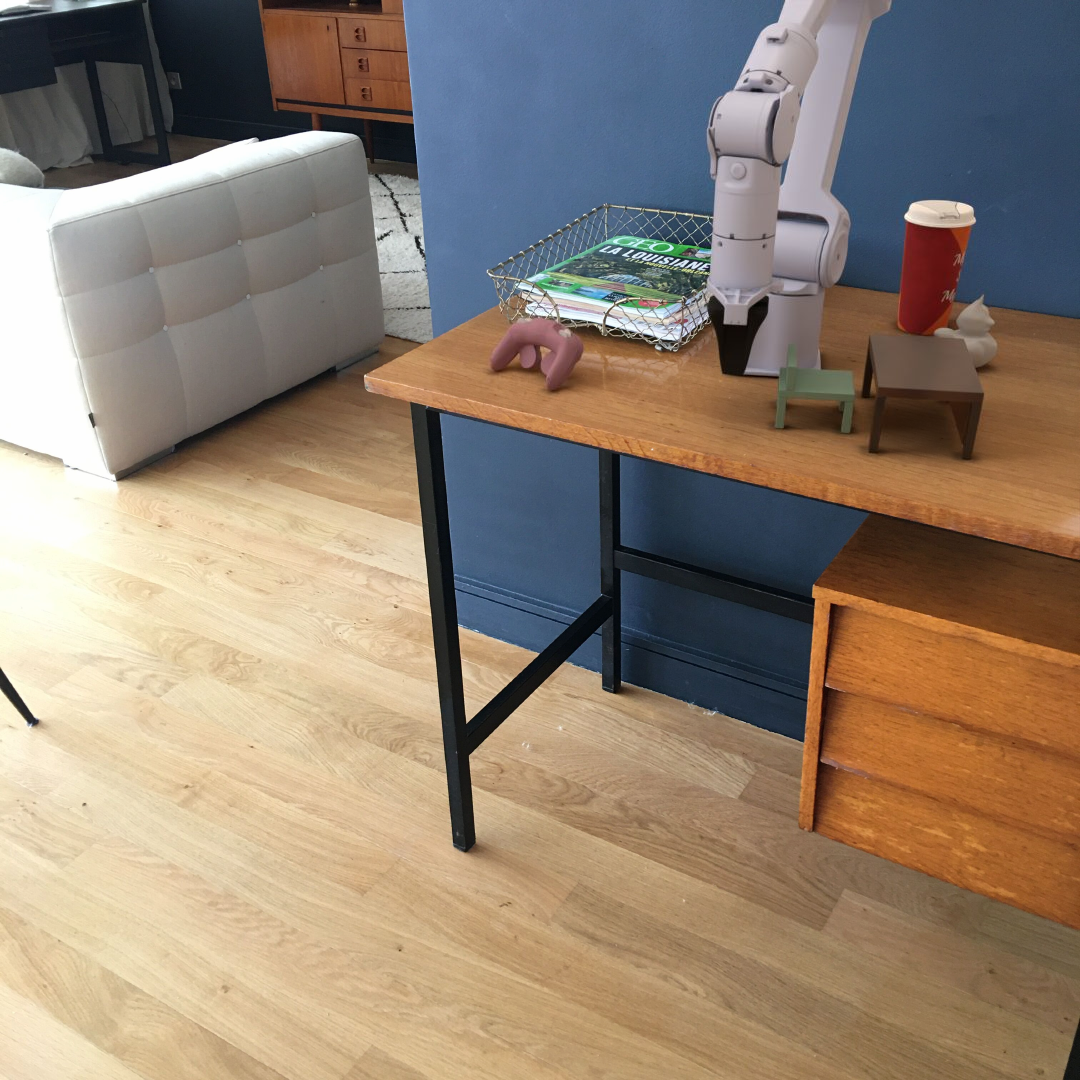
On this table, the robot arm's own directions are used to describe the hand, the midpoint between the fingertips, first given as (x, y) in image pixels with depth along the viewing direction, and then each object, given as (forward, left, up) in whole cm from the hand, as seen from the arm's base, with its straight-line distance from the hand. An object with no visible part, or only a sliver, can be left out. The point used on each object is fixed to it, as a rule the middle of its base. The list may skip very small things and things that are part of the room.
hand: (733, 372), depth 107 cm
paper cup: (+21, +29, -4) cm, 36 cm away
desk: (+18, 0, -4) cm, 18 cm away
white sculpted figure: (+24, +17, -4) cm, 30 cm away
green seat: (+8, 0, -4) cm, 9 cm away
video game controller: (-21, +7, -4) cm, 23 cm away
